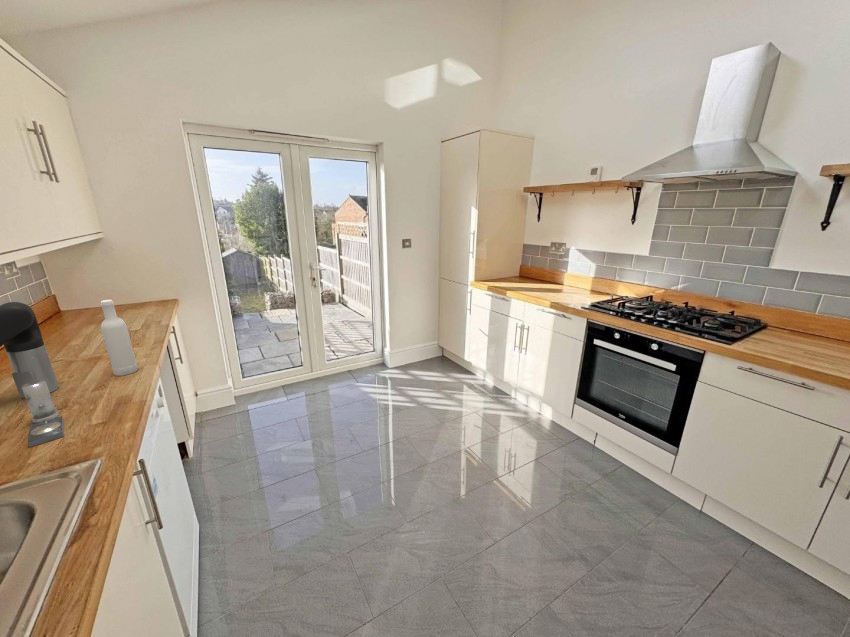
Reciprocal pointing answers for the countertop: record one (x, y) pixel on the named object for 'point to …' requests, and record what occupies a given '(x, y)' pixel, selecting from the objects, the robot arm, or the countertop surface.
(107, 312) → the bottle
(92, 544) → the countertop surface
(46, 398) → the flanged metal cylinder
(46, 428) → the base plate
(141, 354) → the countertop surface
